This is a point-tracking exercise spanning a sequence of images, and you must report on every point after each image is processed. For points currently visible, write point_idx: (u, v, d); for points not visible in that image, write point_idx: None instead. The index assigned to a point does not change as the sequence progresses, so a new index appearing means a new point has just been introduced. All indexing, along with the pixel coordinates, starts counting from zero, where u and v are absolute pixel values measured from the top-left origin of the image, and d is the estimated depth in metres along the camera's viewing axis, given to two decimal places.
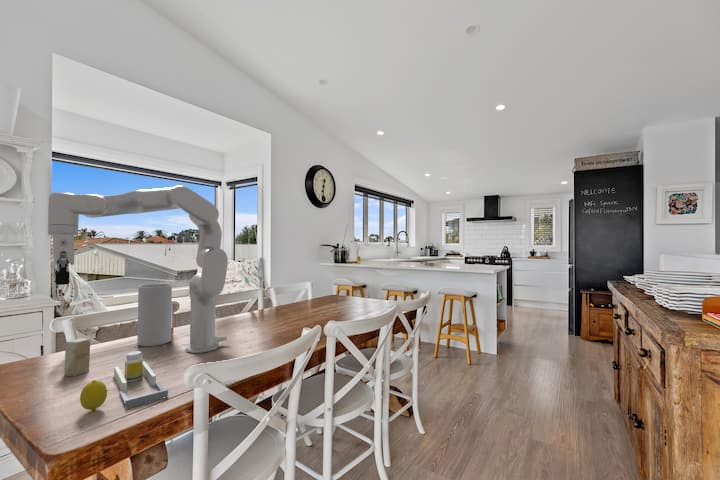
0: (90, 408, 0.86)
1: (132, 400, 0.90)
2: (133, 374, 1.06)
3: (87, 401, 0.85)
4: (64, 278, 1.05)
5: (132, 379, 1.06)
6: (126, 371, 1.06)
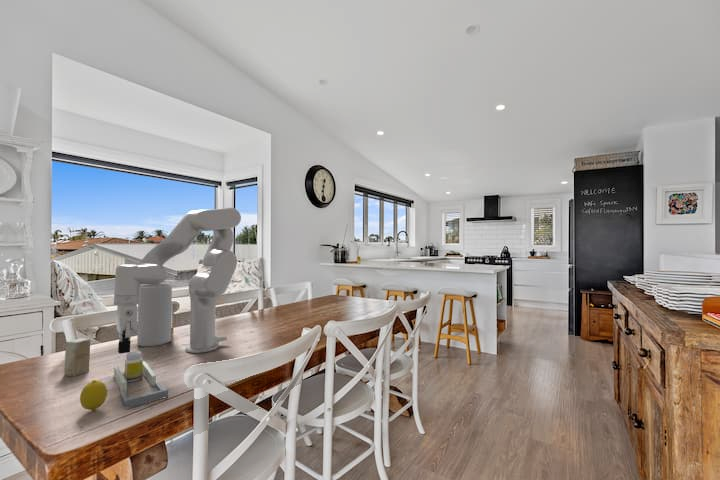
0: (90, 408, 0.86)
1: (132, 400, 0.90)
2: (133, 374, 1.06)
3: (87, 401, 0.85)
4: (126, 347, 1.16)
5: (132, 379, 1.06)
6: (126, 371, 1.06)
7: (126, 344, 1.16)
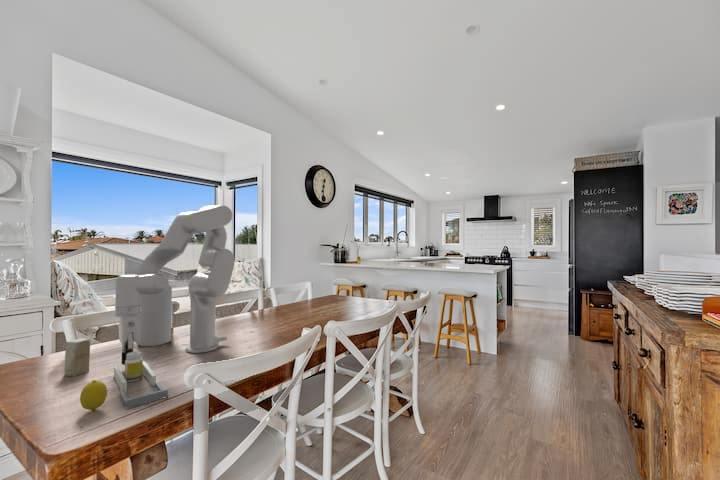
0: (90, 408, 0.86)
1: (132, 400, 0.90)
2: (133, 374, 1.06)
3: (87, 401, 0.85)
4: None
5: (132, 379, 1.06)
6: (126, 371, 1.06)
7: None
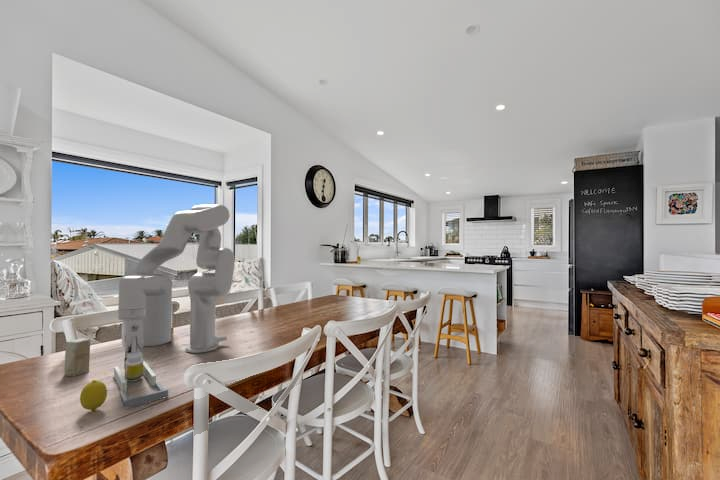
0: (90, 408, 0.86)
1: (132, 400, 0.90)
2: (133, 375, 1.05)
3: (87, 401, 0.85)
4: None
5: (132, 379, 1.06)
6: (126, 371, 1.05)
7: None
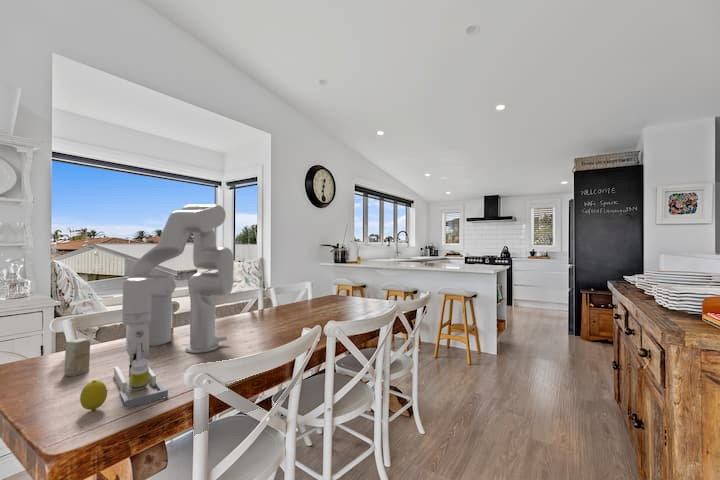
0: (90, 408, 0.86)
1: (132, 400, 0.90)
2: (138, 384, 0.99)
3: (87, 401, 0.85)
4: None
5: (137, 388, 0.99)
6: (131, 380, 0.99)
7: None
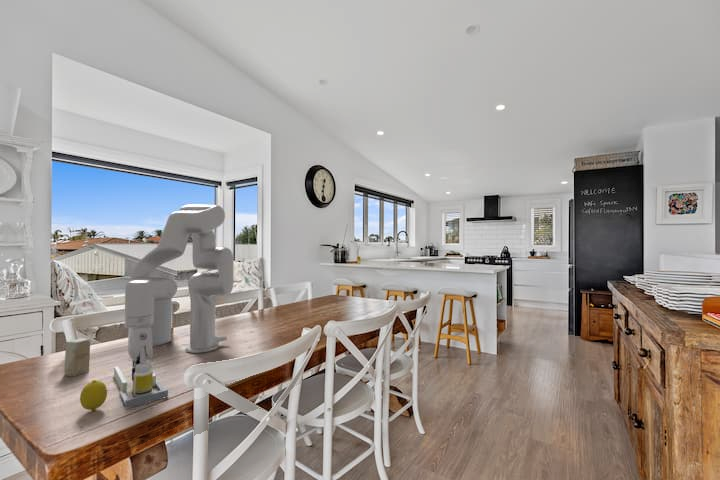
0: (90, 408, 0.86)
1: (132, 400, 0.90)
2: (142, 389, 0.96)
3: (87, 401, 0.85)
4: None
5: (141, 394, 0.96)
6: (135, 385, 0.96)
7: None
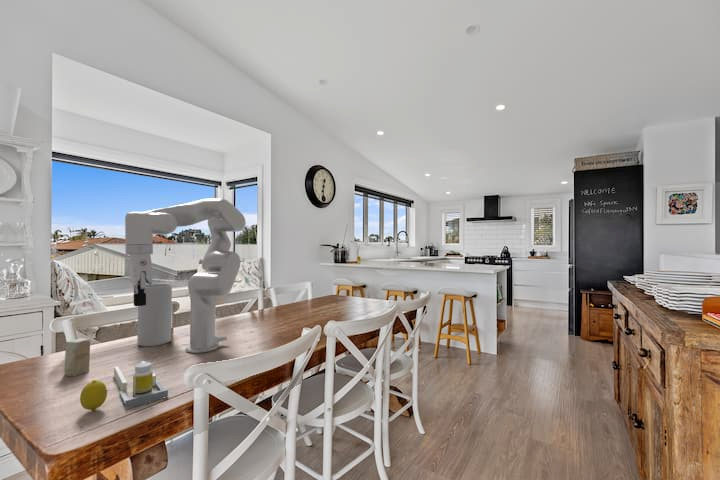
0: (90, 408, 0.86)
1: (132, 400, 0.90)
2: (142, 389, 0.96)
3: (87, 401, 0.85)
4: (142, 300, 1.09)
5: (141, 394, 0.96)
6: (134, 385, 0.96)
7: (142, 296, 1.09)
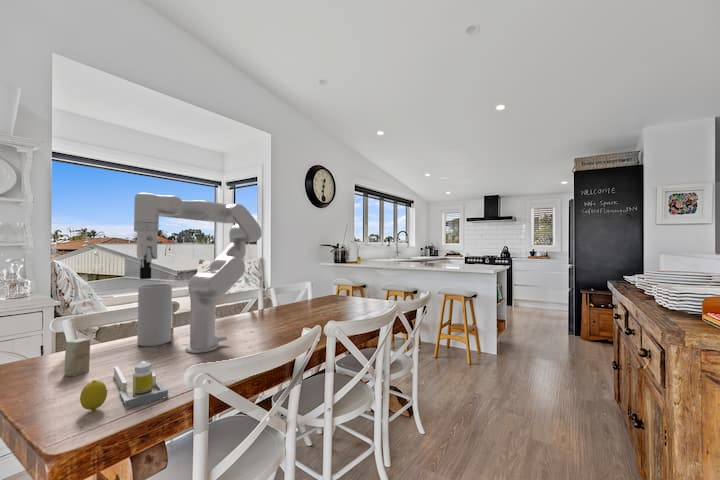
0: (90, 408, 0.86)
1: (132, 400, 0.90)
2: (141, 389, 0.96)
3: (87, 401, 0.85)
4: (147, 273, 1.20)
5: (141, 394, 0.96)
6: (134, 385, 0.96)
7: (147, 270, 1.20)
